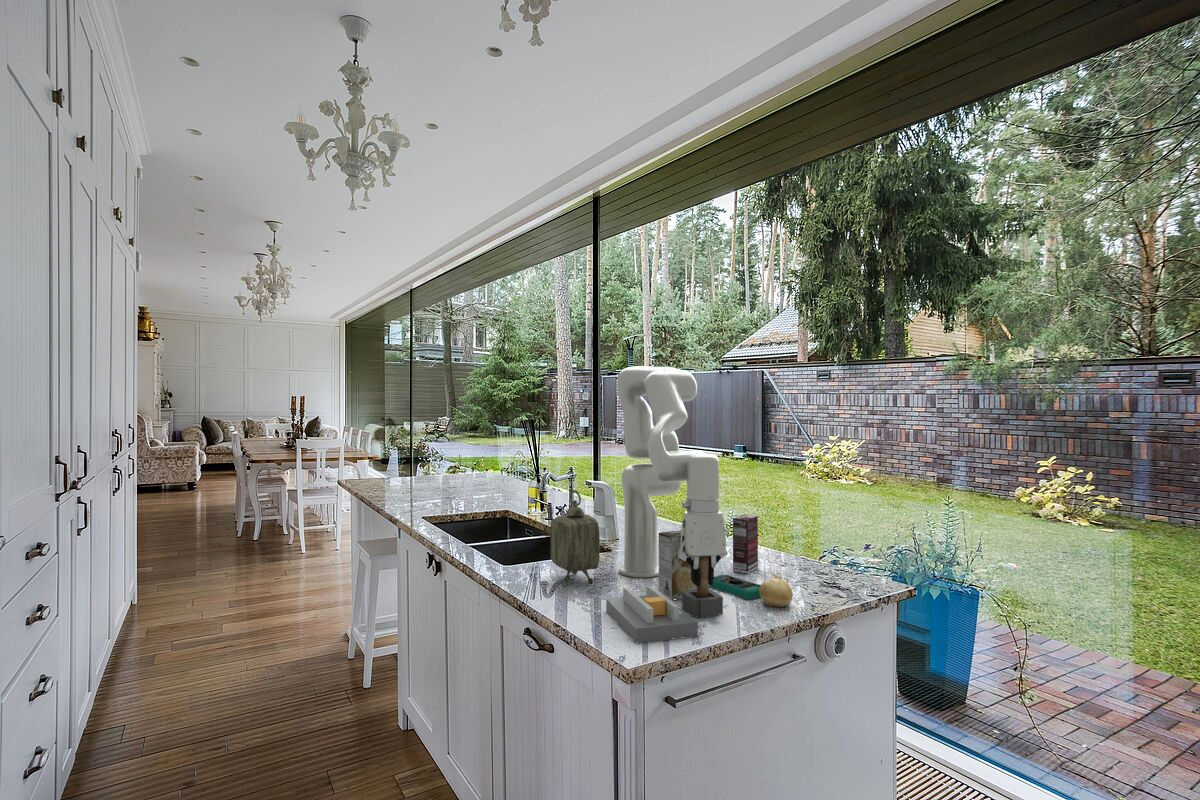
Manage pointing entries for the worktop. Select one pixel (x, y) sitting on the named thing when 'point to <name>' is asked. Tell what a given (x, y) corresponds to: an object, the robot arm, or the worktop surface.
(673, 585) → the coffee box
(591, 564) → the tabletop clock
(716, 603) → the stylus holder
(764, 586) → the onion
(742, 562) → the supplement box
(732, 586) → the digital multimeter
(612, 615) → the grey slider track base
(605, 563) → the worktop surface
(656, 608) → the breaker handle
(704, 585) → the stylus
